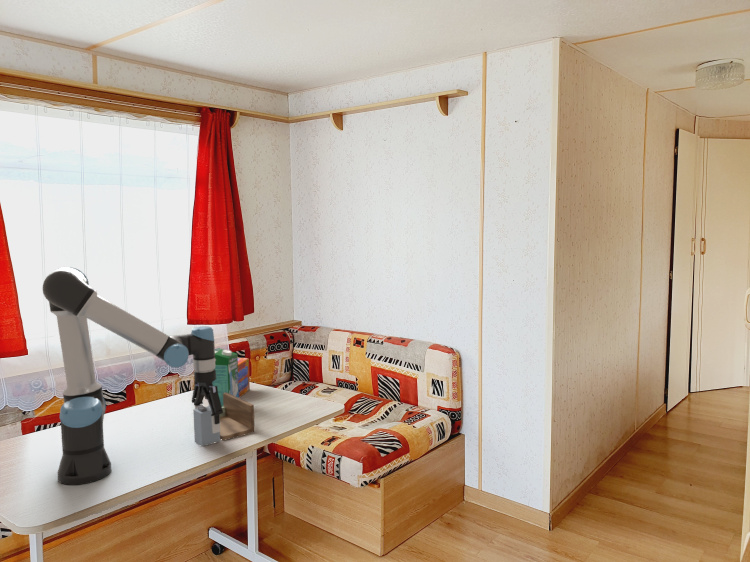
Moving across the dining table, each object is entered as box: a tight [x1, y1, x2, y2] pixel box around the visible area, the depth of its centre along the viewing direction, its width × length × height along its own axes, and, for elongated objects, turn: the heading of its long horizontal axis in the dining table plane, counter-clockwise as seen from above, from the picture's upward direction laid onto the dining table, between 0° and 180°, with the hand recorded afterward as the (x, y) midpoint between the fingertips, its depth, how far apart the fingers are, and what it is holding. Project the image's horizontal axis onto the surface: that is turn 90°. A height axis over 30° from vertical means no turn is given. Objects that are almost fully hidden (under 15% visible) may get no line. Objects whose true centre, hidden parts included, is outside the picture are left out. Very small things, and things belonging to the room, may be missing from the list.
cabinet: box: [193, 405, 221, 447], centre depth 208 cm, size 7×6×13 cm
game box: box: [238, 357, 251, 399], centre depth 266 cm, size 16×16×16 cm
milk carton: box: [212, 347, 239, 407], centre depth 246 cm, size 9×9×25 cm
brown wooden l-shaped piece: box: [220, 392, 256, 441], centre depth 221 cm, size 13×22×10 cm, turn 41°
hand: (207, 427), depth 208 cm, fingers open, 13 cm apart
